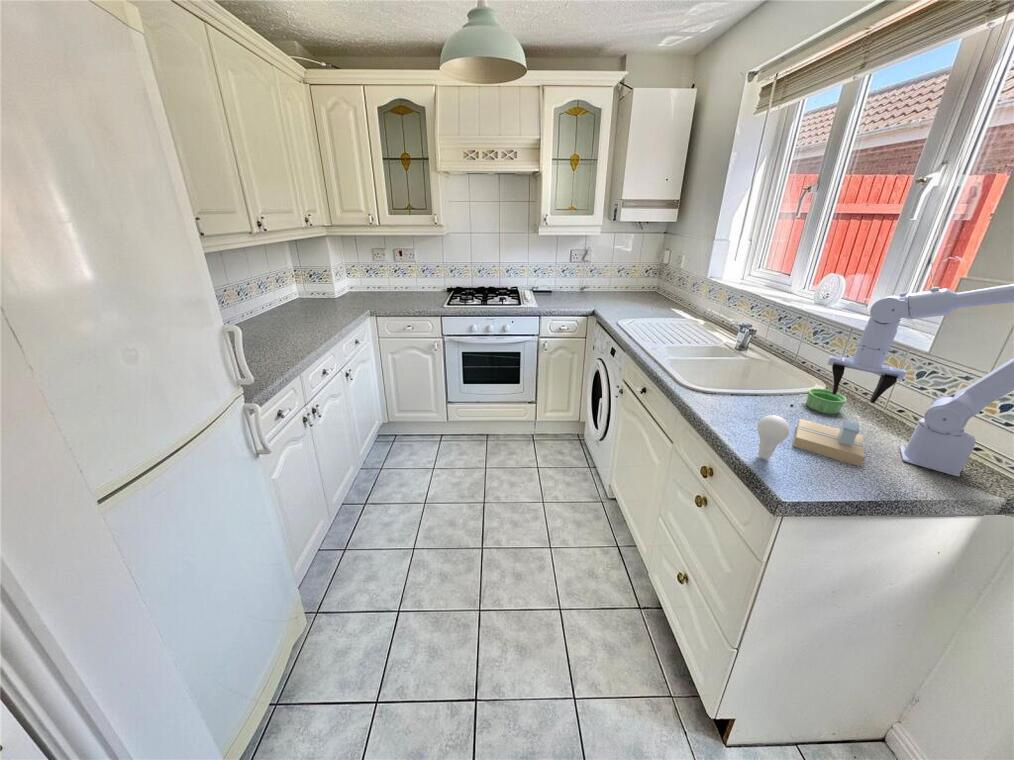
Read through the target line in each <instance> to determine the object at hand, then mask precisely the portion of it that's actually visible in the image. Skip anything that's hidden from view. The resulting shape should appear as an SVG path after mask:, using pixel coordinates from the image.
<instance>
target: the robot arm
mask: <svg viewBox="0 0 1014 760" xmlns="http://www.w3.org/2000/svg"><path fill="white" fill-rule="evenodd" d="M940 288H941V287H940V286H934V287H931V288H930V289H929V290H926V291H920V292H919V291H918V292H914V293H907V291H906V292H901V293H899V296H897V295H889V296H885V297H883V298H881V299H878V300H876V302H874V303H873V304H872V305H871V307H870V309H869V314H870V317H869V318H868V321H867V324H866V325H865V327H864V330H863V332H862V335H861V337H860V340H859V342H858V345H857V347H856V350H855V352H854V355H853V357H851V358H850V357H844V356H843V357H841V356H834V355H830V356H829V358H828V360H827V361H828V362H827V365H829V366H831V370H832V375H833V388H832V390H831V391H832V394H835V395H836V393H838V389H839V386H840V383H841V381H842V378H843V376H844V374H845V368H846V369H851V370H857V371H862V372H867V373H872V374H876V375H880V376H879V379H878V383H877V385H876V387H875V389H874V391H873V393H872V395H871V397H870V399H869V400H870V401H869V402H870V403H871V404H875V402H876V401H877V400H879V398H880V396H881V395H882V394H884V393H885V392H886V391H887V390H889V388H891V387H893V386H894V385H895V384H896V383H897V382H898V380H904V379H905V377H906V375H907V370H906V369H902V368H897V367H893V366H890V365H886V364H884V363H885V360H886V359H887V355H888V353H889V351H890V350H891V346H892V344H893V341H894V339H895V337H896V335H897V333H898V327H899V325H900V322H901V321H902V320H901V319H906V320H916V319H925V318H926V319H927V318H935V317H943V316H944V317H945V316H950V315H951V314H953V312H955V310H957V309H960V308H961V309H962V308H969V307H971V308H972V307H979V306H990V305H991V306H992V305H999V304H1000V305H1002V304H1009V303H1010V304H1012V303H1014V283H1012V284H1010V283H1009V284H1004V285H998V286H991V287H986V288H980V289H974V290H969V291H968V290H967V291H961V292H955V291H954V290H952V289H950V288H941V289H940ZM897 379H898V380H897ZM1013 391H1014V357H1012V358H1011V359H1009V360H1007V361H1006V362H1004V363H1003V364H1001V365H1000V366H998V367H997V368H995V369H993V370H992V371H990V372H989V373H987V374H984V376H982V377H980V378H979V379H977V380H976V381H974V382H971V384H969V385H968V386H965V387H962V388H960V389H959V390H957V391H955V392H953V393H950V394H947V395H942V396H939V397H937V398H935V399H934V400H933V401H932V402H931V405H930V407H929V408H928V409H927V410H926V411H925V413H924V415H923V416H924V417H922V418H920V419H919V421H918V423H917V425H916V426H915V429H914V430H913V433H912V435H911V437H910V438H909V441H908V442H907V445H906V446H904V445H900V446H899V451H900V455H901V459H902V461H903V462H905V463H908V464H912V465H916V466H919V467H923V468H926V469H929V470H934V471H938V472H940V473H944V474H948V475H952V476H955V477H959V478H960V476H961V474H960V473H961V471H962V470H963V468H964V466H965V465H966V463H967V461H968V460H969V458H970V456H971V455H972V453H973V450H974V449H975V445H976V437H975V436H974V435H973V434H969V433H966V432H965V429H964V428H965V426H966V425H967V423H968V421H969V420H970V419H972V418H973V417H975V416H976V415H978V414H979V413H980V412H982V411H983V410H984V409H985V408H986V407H987V406H989V405H991V404H993V403H994V402H995V401H997V400H999V399H1001V398H1003V397H1004V396H1006V395H1007V394H1008V395H1009V394H1010V393H1011V392H1013Z"/></svg>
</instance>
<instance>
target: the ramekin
mask: <svg viewBox="0 0 1014 760" xmlns="http://www.w3.org/2000/svg"><path fill="white" fill-rule="evenodd" d="M832 391H833V390H829V389H824V388H817V387H816V388H815V387H814V388H809V389H808V392H807V398H806V403H805V404H806V406H807V407H808V408H810V409H812V410H813V411H816V412H818V413H822V414H828V415H836V414H838V413H839V412H840V411H841V409H842V408H843V405H844V404H845V403H846V401H847V398H846V396H844V395H843V394H840V393H839V392H837V393H836V395H835V394H832Z"/></svg>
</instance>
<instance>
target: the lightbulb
mask: <svg viewBox="0 0 1014 760" xmlns="http://www.w3.org/2000/svg"><path fill="white" fill-rule="evenodd" d="M756 429H757V434H758V436H759V444H758V447H759V448H758V452H757V454H758V457H760V459H762V460H770V459H771V457H772V455H773V453H774V452H775V451H776V448H777V447H778V446H779V444H780V443H782V442H784V441H785V440H786V439H787V438H788V437H789V435H790V432H791V427H790V425H789V423H788V421H787V420H786V419H785V418H783V417H781V416H779V415H774V414H773V415H771V414H770V415H767V416H764V417H762V418H761V419H760V420H759V421H758V423H757V427H756Z"/></svg>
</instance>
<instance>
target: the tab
mask: <svg viewBox="0 0 1014 760" xmlns="http://www.w3.org/2000/svg"><path fill="white" fill-rule="evenodd" d="M859 427H860V424H859V422H856V421H852V420H848V419H843V420H842V425H841V428H840V429H841V430H840V432H839V439H838V443H842V444H845V445H849V446H852V444H853V442H854V440H855V437H856V435H857V434H859V433H860V428H859Z"/></svg>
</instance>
